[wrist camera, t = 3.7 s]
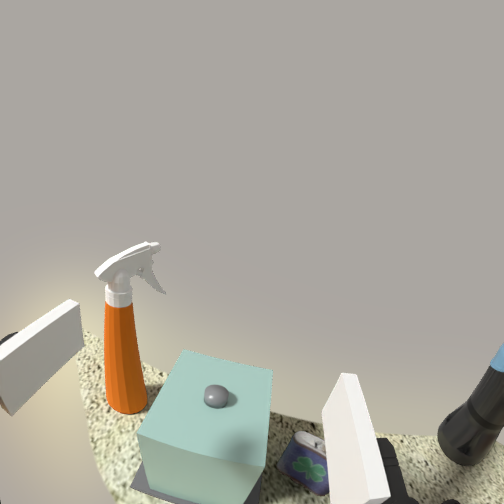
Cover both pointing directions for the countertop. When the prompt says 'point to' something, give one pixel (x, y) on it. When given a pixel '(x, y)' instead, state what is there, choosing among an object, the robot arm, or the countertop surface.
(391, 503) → the robot arm
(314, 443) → the flask
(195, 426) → the box
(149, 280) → the spray bottle
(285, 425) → the countertop surface
